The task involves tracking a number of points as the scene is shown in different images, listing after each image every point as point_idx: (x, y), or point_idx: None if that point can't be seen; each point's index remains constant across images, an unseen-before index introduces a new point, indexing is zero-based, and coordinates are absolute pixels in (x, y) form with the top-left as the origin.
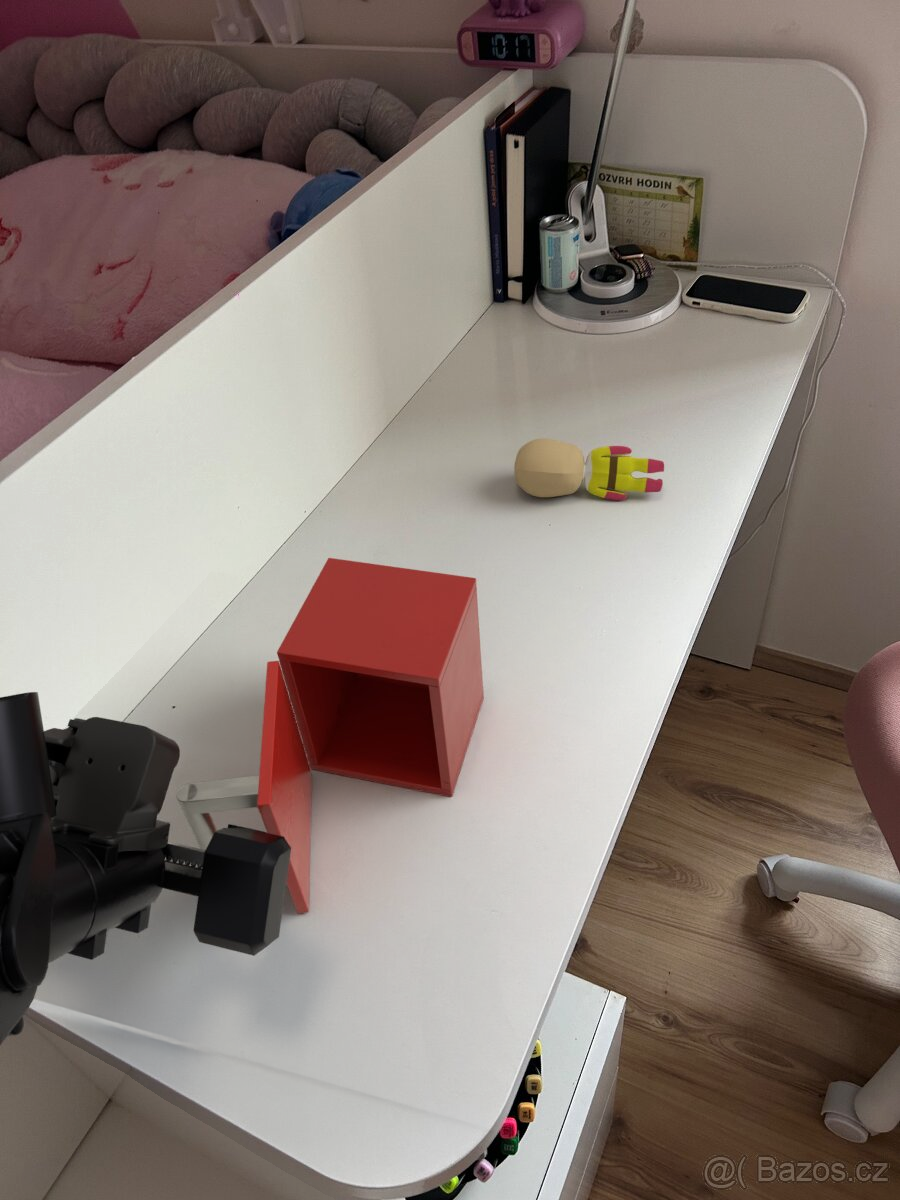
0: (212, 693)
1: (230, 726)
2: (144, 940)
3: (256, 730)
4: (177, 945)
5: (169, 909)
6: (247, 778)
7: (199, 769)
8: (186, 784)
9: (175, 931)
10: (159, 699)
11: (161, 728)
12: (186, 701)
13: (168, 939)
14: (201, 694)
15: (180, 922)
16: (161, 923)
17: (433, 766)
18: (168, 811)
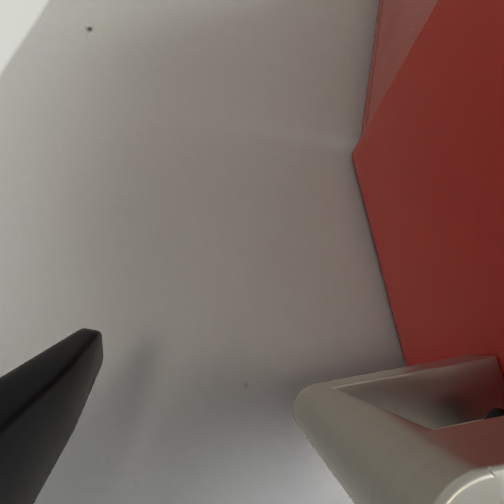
0: (151, 4)
1: (199, 64)
2: (148, 492)
3: (246, 71)
4: (213, 499)
5: (179, 424)
6: None
7: (164, 145)
8: (478, 487)
9: (202, 469)
10: (59, 15)
11: (76, 69)
12: (109, 18)
13: (193, 487)
14: (132, 5)
15: (207, 450)
16: (172, 454)
17: None
18: (128, 227)
